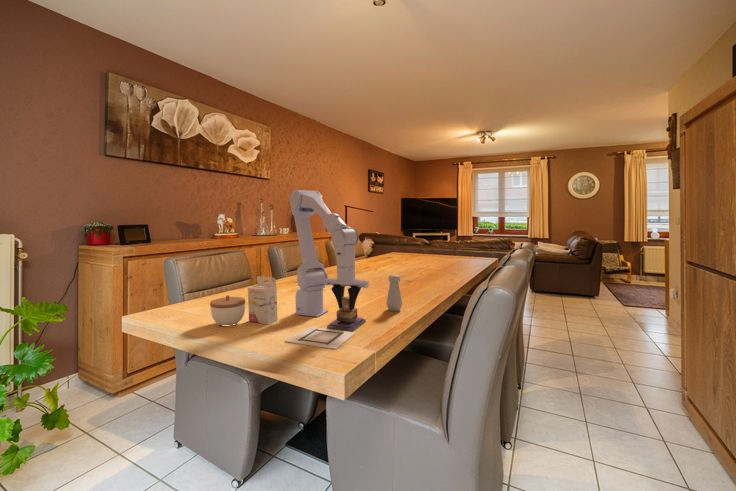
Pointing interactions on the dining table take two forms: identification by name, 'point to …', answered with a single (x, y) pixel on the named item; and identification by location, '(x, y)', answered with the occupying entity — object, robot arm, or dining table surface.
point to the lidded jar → (228, 310)
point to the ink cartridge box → (263, 301)
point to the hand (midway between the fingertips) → (346, 308)
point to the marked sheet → (321, 337)
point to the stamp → (346, 311)
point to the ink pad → (347, 324)
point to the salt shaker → (394, 294)
